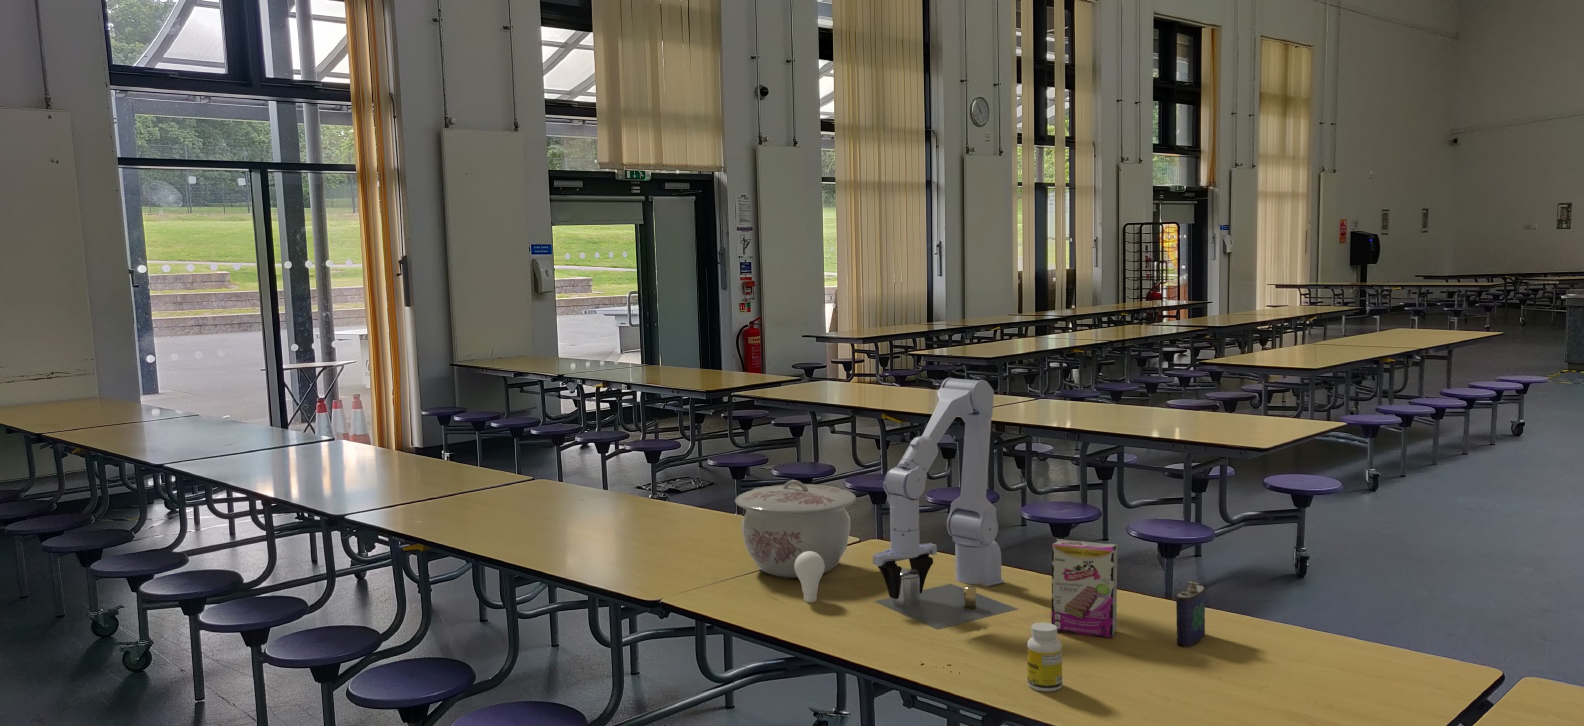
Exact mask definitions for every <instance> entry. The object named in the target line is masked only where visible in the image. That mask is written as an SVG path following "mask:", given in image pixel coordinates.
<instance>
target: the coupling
mask: <svg viewBox="0 0 1584 726" xmlns="http://www.w3.org/2000/svg"><path fill="white" fill-rule="evenodd" d="M892 602H893V604H896V605H899V606H913V605H917V604H919V603H920V577H919V571H917V570H914V569H911V568H902V570H901V573H900V579H899V596H898V599H894V598H892Z"/></svg>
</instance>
